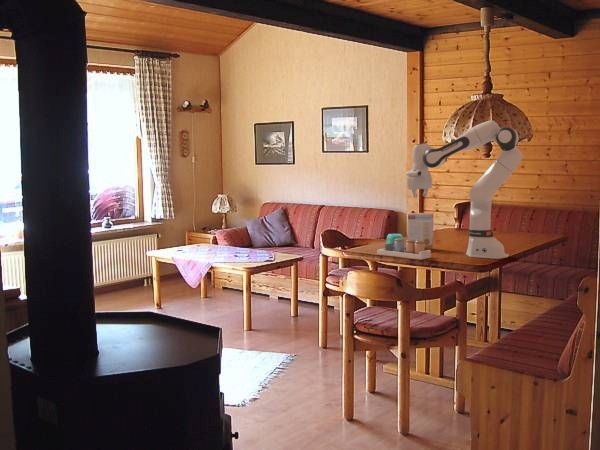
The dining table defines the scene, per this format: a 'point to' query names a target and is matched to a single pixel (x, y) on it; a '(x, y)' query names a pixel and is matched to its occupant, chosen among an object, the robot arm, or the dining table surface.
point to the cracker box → (421, 228)
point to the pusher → (390, 246)
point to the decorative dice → (393, 237)
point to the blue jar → (399, 245)
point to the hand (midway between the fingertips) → (420, 197)
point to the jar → (410, 246)
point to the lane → (405, 254)
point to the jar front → (418, 247)
